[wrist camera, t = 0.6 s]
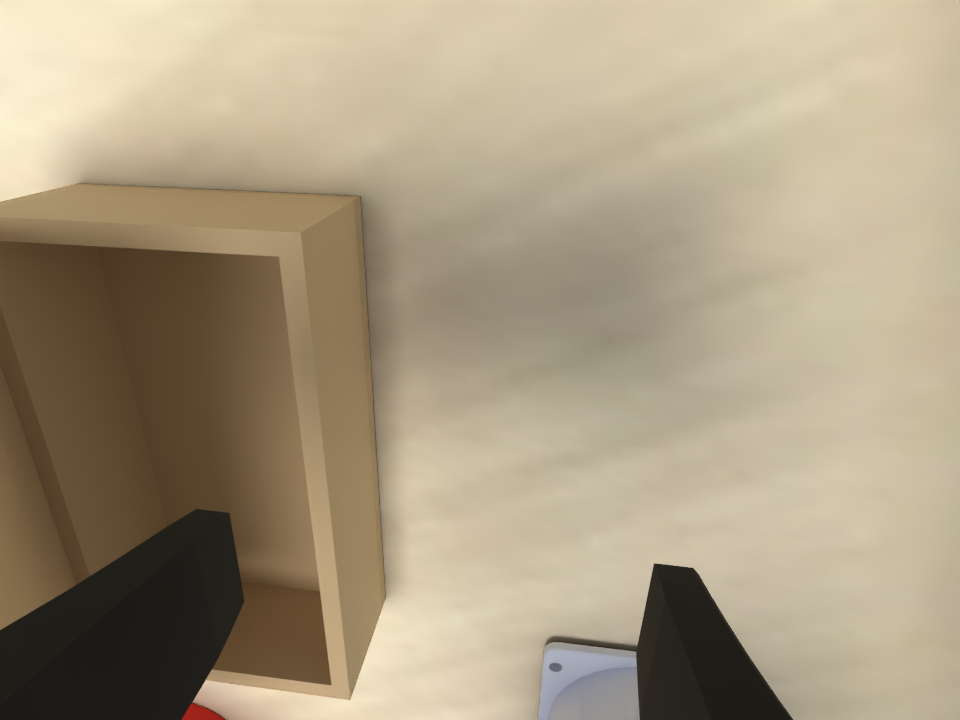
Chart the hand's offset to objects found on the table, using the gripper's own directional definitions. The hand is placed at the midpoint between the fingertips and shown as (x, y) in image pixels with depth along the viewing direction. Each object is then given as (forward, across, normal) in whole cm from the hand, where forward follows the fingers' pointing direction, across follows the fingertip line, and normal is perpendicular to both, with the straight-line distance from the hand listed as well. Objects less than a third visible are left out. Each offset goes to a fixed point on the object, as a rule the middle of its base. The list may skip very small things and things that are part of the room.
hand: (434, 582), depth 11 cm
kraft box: (+10, +9, +4) cm, 14 cm away
